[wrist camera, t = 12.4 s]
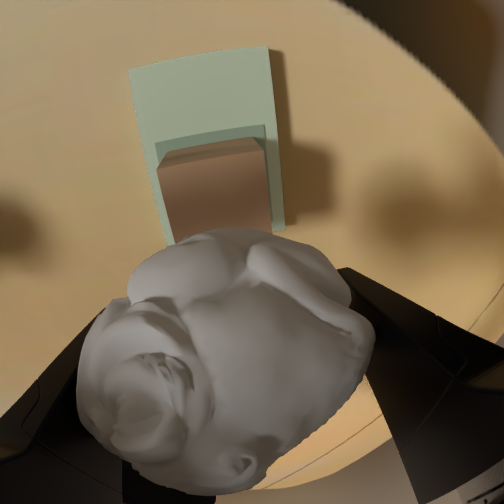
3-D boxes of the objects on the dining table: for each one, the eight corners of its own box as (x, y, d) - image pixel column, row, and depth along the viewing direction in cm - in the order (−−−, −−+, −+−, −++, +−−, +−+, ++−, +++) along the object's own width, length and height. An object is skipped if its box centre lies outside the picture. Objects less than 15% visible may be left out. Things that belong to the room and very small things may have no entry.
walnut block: (261, 212, 19) (273, 243, 16) (184, 226, 19) (179, 259, 15) (252, 136, 16) (263, 150, 13) (167, 151, 16) (156, 169, 13)
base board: (282, 223, 21) (285, 230, 20) (169, 242, 21) (168, 250, 20) (264, 48, 15) (268, 45, 14) (132, 70, 14) (127, 70, 13)
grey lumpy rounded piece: (92, 212, 8) (-23, 413, 2) (316, 163, 8) (494, 331, 3) (154, 346, 11) (144, 511, 5) (322, 313, 12) (390, 471, 6)
